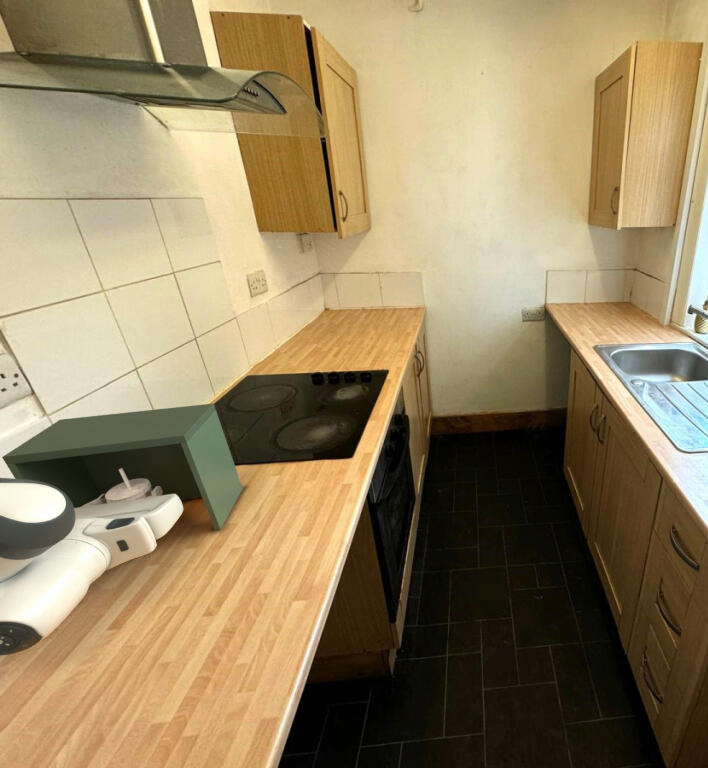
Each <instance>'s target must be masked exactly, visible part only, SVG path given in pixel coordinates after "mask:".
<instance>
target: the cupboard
mask: <svg viewBox="0 0 708 768" xmlns="http://www.w3.org/2000/svg"><path fill="white" fill-rule="evenodd" d="M1 458H2V459H3V461H4V463H5V464H6V466H7V468H8V469H9V471H10V473H11V474H12V476H13V478H14V479H25V480H34V481H40V482H44V483H47V484H50V485H53V486H55V487H57V488H58V489H60V490H61V491H63V492H64V493H65V494H66V495H67V496H68V497H69V499H70V500H71V502H72V504H73V506H74V508H78V507H82V506H83V505H85V504H87V503H89V502H91V501H93V500H95V499H97V498H98V497H99V496H100V495H102V494H106V493H107V492H108V491H109V490H110V489H111V488H113V487H115V486H116V485H118V484H121V483H123V482H124V480H123V478H122V476H121V474H120V472H119V469H120V468H123V470H124V472H125V474H126V477H127V479H128V481H129V480H133V479H139V478H144V479H148V480H149V482H150V483H151V487H157V486H161V488H162V491H163V493H162V495H168V494H176V495H177V496H178V497H179V498H180V500H181V501H185V500H193V499H198V498H199V499H200V498H202V501H203V503H204V506H205V508H206V511H207V514H208V516H209V518H210V521H211V524H212V526H213V528H214V531H219V530H221V529H222V528H223V526H224V525H225V522H226V521H227V519H228V517H229V515H230V514H231V511H232V509H233V508H234V505H235V504H236V502H237V500H238V498H239V497H240V495H241V493H242V491H243V489H244V488H243V485H242V482H241V479H240V477H239V474H238V471H237V468H236V465H235V462H234V460H233V456H232V453H231V450H230V448H229V445H228V441H227V439H226V436H225V433H224V430H223V427H222V424H221V421H220V418H219V416H218V413H217V409H216V407H215V404H214V403H204V404H197V405H196V404H195V405H185V406H176V407H167V408H157V409H150V410H149V409H148V410H138V411H129V412H118V413H110V414H100V415H91V416H81V417H72V418H62V419H59V420H57V421H55V422H54V423H52V424H51V425H50V426H47V427H46V428H45V429H43V430H42V431H40V432H39V433H37V434H36V435H33V436H31V438H29V439H28V440H26V441H24V442H23V443H22V444H20V445H19V446H17V447H15V448H14V449H12V450H11V451H9V452H8V453H6V454H5V455H3V456H2V457H1Z"/></svg>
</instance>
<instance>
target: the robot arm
mask: <svg viewBox="0 0 708 768" xmlns="http://www.w3.org/2000/svg"><path fill="white" fill-rule="evenodd" d="M146 493H147V495H148V497H147V498H140V499H133V500H126V501H120V502H113V503H108V502H106V498H105V495H106V494H102V495H100V496H99V497H98V498H97V499H95V500H93V501H91V502H89V503H87V504H85V505H83V506H82V507H78V508H74V506H73V504H72V502H71V500H70V499H69V497H68V496H67V495H66V494H65V493H64V492H63V491H61V490H60V489H58V488H57V487H55V486H53V485H50V484H47V483H44V482H40V481H34V480H25V479H15V478H13V477H11V478H10V477H0V656H9V655H13V654H16V653H20V652H23V651H25V650H29V649H30V648H32V647H33V646H35V645H38V643H40V642H42V641H43V640H44V639H46V638H47V637H49V636H50V635H51V634H52V633H53V632H54V631H55V630H56V629H57V628H58V627H59V626H60V625H61V624H63V622H64V621H65V620H66V618H68V616H69V615H70V614H71V613H72V612H73V611H74V609H76V607H77V606H78V605H79V603H80V602H81V601H82V600H83V599H84V597H86V595H87V593H88V590H89V587H90V585H91V584H92V583H94V582H95V581H96V580H97V579H99V578H101V576H102V575H103V574H104V573H105V571H108V570H111V569H113V568H115V567H117V566H119V565H121V564H123V563H127V562H129V561H131V560H134V559H137V558H140V557H143V556H146V555H148V554H151V553H152V552H153V551H154V550H156V548H157V546H158V545H157V540H159V539H161V538H162V537H164V536H165V535H166V534H168V533H169V532H170V530H171V529H172V528H173V527H174V526H175V524H176V523H177V521H178V520H179V518H181V516H182V514H183V512H184V505H183V502H182V500H180V498H179V497H178V496H177V495H176V494H168V495H162V493H163V491H162V488H161V486H157V487H150V488H149V490H148V491H147V492H146Z"/></svg>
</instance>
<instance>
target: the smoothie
mask: <svg viewBox="0 0 708 768" xmlns="http://www.w3.org/2000/svg"><path fill="white" fill-rule="evenodd" d="M119 472H120V474H121V476H122V478H123V480H124V482H123V483H121V484H118V485H116V486H115V487H113V488H111V489H110V490H109V491H108V492H107V493H106V495H105V498H106V502H108V503H113V502H120V501H126V500H133V499H140V498H147V497H148V495H147V493H146V492H147V491H148V490H149V488H150V487H151V483H150V482H149V480H148V479H144V478H139V479H133V480H129V481H128V479H127V477H126V474H125V472H124V470H123V468H120V469H119Z"/></svg>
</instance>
